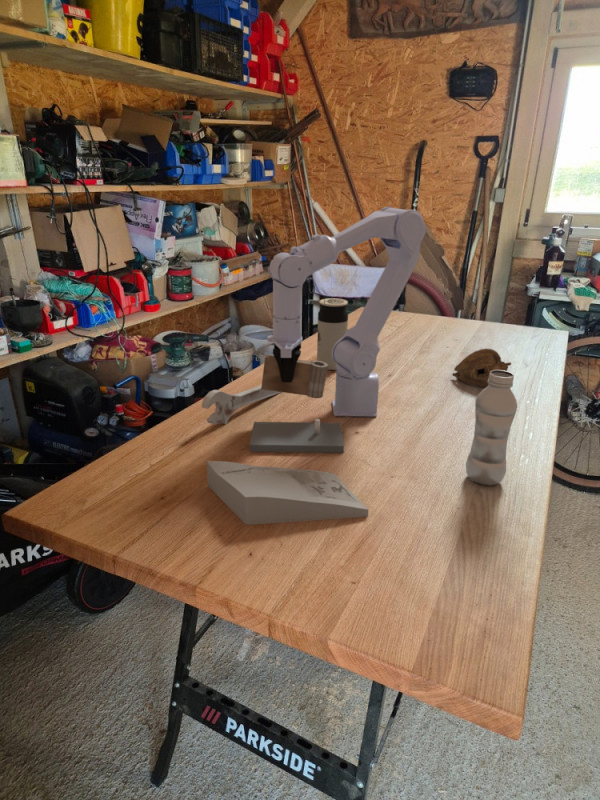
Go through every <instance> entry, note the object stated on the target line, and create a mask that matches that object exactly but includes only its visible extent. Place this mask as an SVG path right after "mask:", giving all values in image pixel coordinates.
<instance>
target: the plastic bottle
mask: <svg viewBox="0 0 600 800" xmlns="http://www.w3.org/2000/svg"><path fill="white" fill-rule="evenodd" d="M514 378H515V374H514V373H512V372H511V371H508V370H507V371H504V370H492V371H490V374H489V379H488V381H487V383H488V384H489V385H488V386H487V387H486V388H483V390H481V392H479V393H478V394H477V397H476V399H475V402H474V403H475V405H474V406H475V409H474V410H475V412H474V414H475V417H474V418H475V421H474V431H473V432H474V433H473V439H472V443H471V447H470V450H469V453H468V455H467V458H466V462H465V472H466V474H467V477H468V478H469V479H470V481H473V482H474V483H476V484H479V485H482V486H483V485H484V486H495V485H498V484H501V482H502V481H503V480H504V478H505V475H506V474H507V449H508V448H507V447H508V439H509V436H510V432H511V427H512V424H513V421H514V419H515V415H516V414H517V410H518V401H517V398H516V396H515V394H514V392H513V391H512V387H513V386H514Z"/></svg>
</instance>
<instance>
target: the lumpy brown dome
mask: <svg viewBox="0 0 600 800" xmlns="http://www.w3.org/2000/svg"><path fill="white" fill-rule="evenodd" d="M511 365H512V362H510V361H509V362H505V361H502V358H501V355H500V354H499V352H498V351H496V350H495V349H492V348H481V349H478V350H475V351H473V352H472V353H470V354H468V355H467V356H465V357H464V359H462V360H461V361H460V362H459V363H458V364H457V365H456V366H455V367H454V371H455V372H454V373H452V377H456V378H457V379H459V380H460V381H462V382H463V383H465V384H467V385H469V386H473V387H479V388H483V389H485V388H486V387H487V386H488V385H489V384H488V383H487V381H488V379H489V374H490V371H492V370H504V371H508V369H509V366H511Z"/></svg>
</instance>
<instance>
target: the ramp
mask: <svg viewBox="0 0 600 800" xmlns="http://www.w3.org/2000/svg"><path fill="white" fill-rule="evenodd" d="M206 474H207V475H206V476H207V486H208V487H209V488H210V489H211V491H213V493H214V494H216V496H217V497H218V498H219V499H221V501H222V502H223V503H224V504H225V505H226V506H227V507H228V508H229V509H230V510H231V511H232V512H233V513H234V514H235V516H237V517H238V518H239V519H240V520H241V521H242V522H243V524H245V525H246V526H251V525H264V524H267V525H268V524H276V523H277V524H278V523H281V524H282V523H293V522H307V521H309V522H310V521H323V520H336V519H349V518H352V519H353V518H367V517H369V509H368V507H367V506H365V505H364V503H363V502H362V501H361V500H360V499H359V497H357V496H356V494H354V493H353V492H352V491H351V490H350V489H349V487H347V485H346V484H345V483H344V482H343V481H342V480H341V479H340V478H339V477H338V475H336V473H334V472H327V471H321V470H315V469H300V468H290V467H279V466H277V467H276V466H259V465H252V464H245V463H239V462H233V461H225V460H210V461H208V460H207V461H206Z"/></svg>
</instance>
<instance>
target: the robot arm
mask: <svg viewBox="0 0 600 800" xmlns="http://www.w3.org/2000/svg"><path fill="white" fill-rule="evenodd" d="M426 233H427V228H426V224H425V220H424V216H423V215H422V214H421V213H420V212H419V211H418V210H415V209H401V208H394V207H392V206H386V207H383V208H381V209H380V210H376V211H372V213H370V214H369V215H367V216H366V217H364V218H363V219H360V220H359V221H358V222H355V223H354V224H352V225H350V226H348V227H347V228H345V229H343V230H342V231H340V232H338V233H336V234H335V235H333V236H329V235H327V234H321V235H320V234H318V233H316V234H314V235H311V238H310V239H311V240H309V241H307V242H305V243H303V244H301V245H299V246H295V245H294V246H291V247H290V252H289V253H288V252H280V253H279V252H278V253H277V254H275V255H274V256H273V259H271V261H270V263H269V266H268V267H267V271H268V275H269V276H270V278H271V279H272V331H273V334H271V335H268V336H267V340H266V341H267V342H270V343H271V342H272V343H273V350H272V356H274V357H275V359H276V361H277V363H278V366H279V371H280V377H281V380H282V382H292V380H293V376H294V370H295V366H296V363H297V360H299V359H300V356H301V355H302V350H301V349H302V343H303V336H302V334H303V333H302V322H303V321H302V317H303V315H302V314H303V285H304V283H305V282H306V280H307V278H308V277H309V276H311V275H313V274H314V273H317V272H319V271H320V270H322V269H324V268H326V267H328V266H330V265H332V264H334V263H336V261H337V260H338V257H339V254H340V253H342V252H344V251H348V249H351V248H353V247H355V246H357V245H361V243H364V242H367V241H369V240H371V239H373V238H379V239H380V241H381V242H382V244H383V246H384V247H385V248H386V251H387V255H388V258H389V259H388V261H387V264H386V265H385V268H384V270H383V271H382V274H381V276H380V277H379V279H378V281H377V283H376V285H375V286H374V289H373V290H372V293H371V294H370V296H369V298H368V300H367V302H366V304H365V306H364V307H363V310H362V312H361V314H360V316H359V317H358V319H357V321H356V323H355V325H354V326H352V327H350V328H349V329H348V328H347V331H346V332H345V333H344V335H343V337H342V338H341V339H340V340H339V341H337V342H336V343H335V345H334V347H333V349H332V357H333V360H334V361H335V362H336V363H337V369H336V370H335V372H336V374H335V393H334V395H335V397H334V399H333V400H331V402H332V403H331V404H332V410H333V415H334V417H377V416H378V414H377V412H378V403H379V400H378V399H379V388H380V387H379V386H380V385H379V374H378V372H373V371H374V370H375V367H376V364H377V357H378V355H379V353H380V350H381V348H380V347H381V346H380V343H379V342H380V341H379V335H380V334H381V332H382V330H383V329H384V327H385V325H386V322H387V320H388V318H389V317H390V315H391V313H392V311H393V309H394V308H395V305H396V304H397V302H398V301H399V298H400V296H401V294H402V293H403V291H404V288H405V286H406V285H407V283H408V282H409V279H410V277H411V275H412V273H413V272H414V270H415V268H416V266H417V264H418V261H419V258H420V250H421V245H422V244H421V243H422V241H423V240H424V238H425V235H426Z"/></svg>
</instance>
